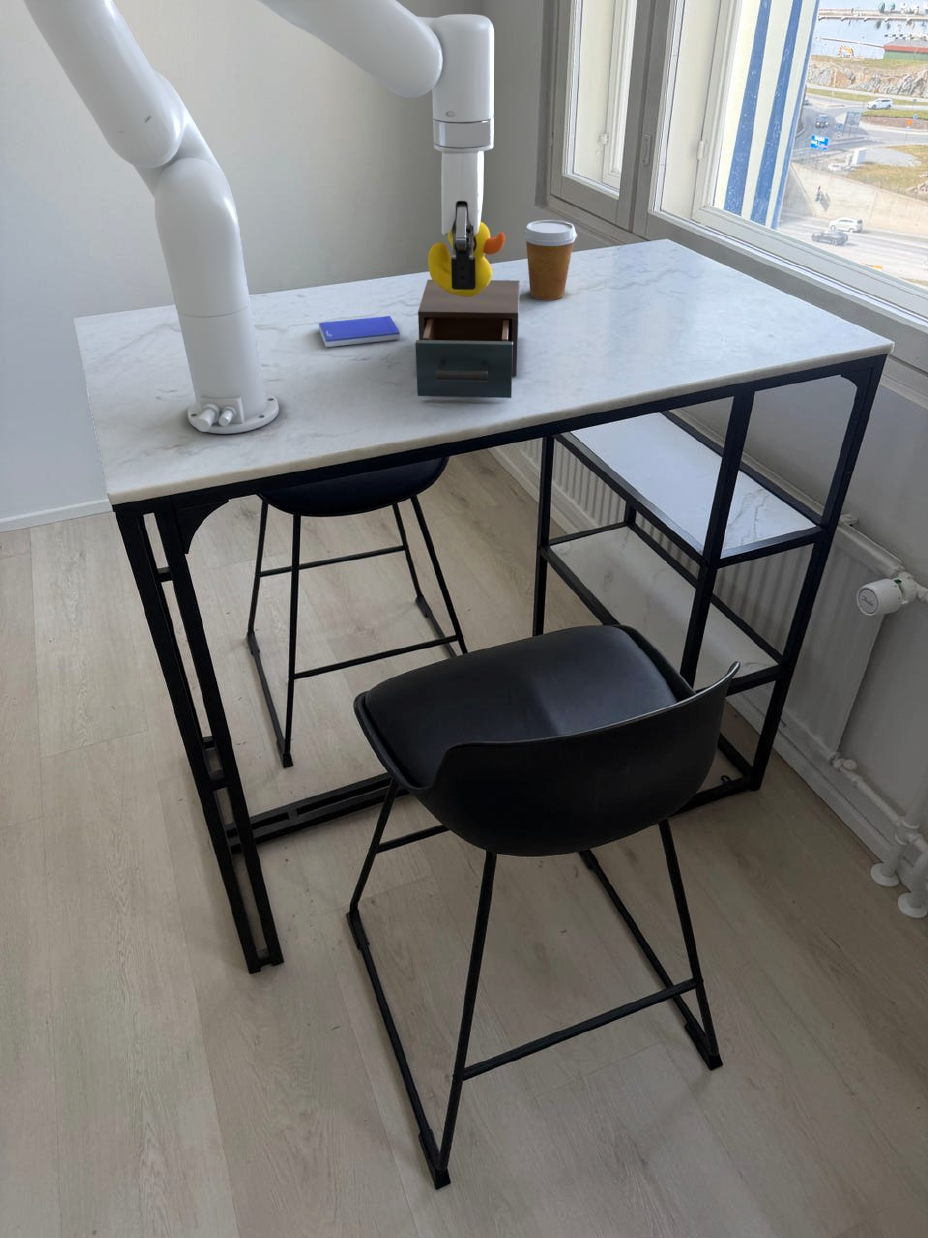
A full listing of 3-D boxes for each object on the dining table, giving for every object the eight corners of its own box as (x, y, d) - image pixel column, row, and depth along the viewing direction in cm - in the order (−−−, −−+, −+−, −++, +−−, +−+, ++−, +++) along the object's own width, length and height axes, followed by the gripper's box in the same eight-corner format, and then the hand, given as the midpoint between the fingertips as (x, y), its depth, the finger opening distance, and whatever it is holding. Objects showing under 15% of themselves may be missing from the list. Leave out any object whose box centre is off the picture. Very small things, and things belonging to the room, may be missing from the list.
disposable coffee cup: (574, 302, 158) (579, 233, 151) (522, 303, 158) (524, 233, 151) (570, 286, 166) (574, 219, 158) (520, 286, 166) (522, 219, 158)
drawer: (510, 413, 121) (511, 359, 116) (413, 412, 121) (410, 357, 116) (513, 360, 135) (514, 310, 130) (426, 359, 136) (424, 308, 131)
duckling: (511, 295, 121) (513, 218, 115) (494, 307, 117) (495, 229, 111) (440, 283, 125) (438, 209, 119) (422, 294, 121) (418, 218, 115)
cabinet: (516, 376, 133) (518, 312, 127) (420, 374, 134) (417, 311, 127) (517, 340, 144) (519, 280, 138) (429, 339, 145) (427, 279, 139)
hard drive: (325, 339, 141) (399, 331, 144) (318, 321, 147) (389, 314, 150) (326, 348, 142) (400, 340, 145) (319, 330, 148) (390, 323, 151)
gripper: (439, 121, 116) (443, 261, 127) (427, 148, 102) (432, 301, 114) (495, 121, 115) (494, 261, 127) (490, 148, 102) (489, 302, 113)
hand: (465, 279), depth 120 cm, fingers closed on duckling, 6 cm apart
